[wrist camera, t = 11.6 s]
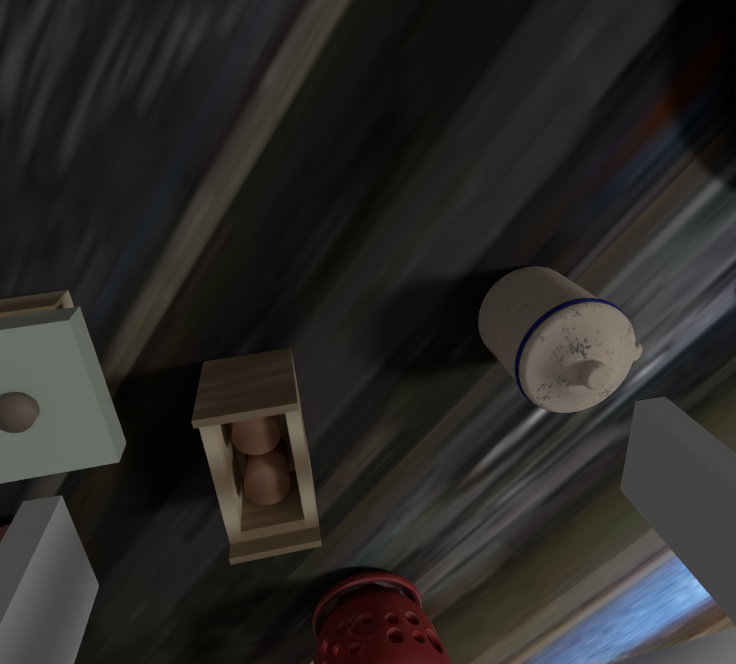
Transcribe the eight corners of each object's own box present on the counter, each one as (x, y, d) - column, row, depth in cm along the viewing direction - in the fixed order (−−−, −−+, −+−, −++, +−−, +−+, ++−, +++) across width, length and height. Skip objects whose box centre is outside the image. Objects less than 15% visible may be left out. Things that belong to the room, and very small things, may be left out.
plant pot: (285, 634, 58) (291, 759, 48) (341, 545, 54) (361, 659, 44) (389, 654, 63) (416, 773, 52) (448, 573, 59) (490, 683, 48)
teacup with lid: (462, 355, 48) (518, 432, 37) (489, 255, 44) (560, 309, 34) (582, 366, 51) (666, 440, 40) (617, 273, 47) (719, 327, 37)
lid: (-80, 329, 36) (-112, 352, 33) (79, 306, 37) (63, 326, 34) (-13, 466, 41) (-35, 497, 38) (126, 442, 42) (115, 471, 39)
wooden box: (203, 361, 44) (191, 421, 36) (290, 347, 44) (297, 403, 37) (235, 489, 49) (230, 564, 42) (312, 475, 50) (321, 546, 43)
